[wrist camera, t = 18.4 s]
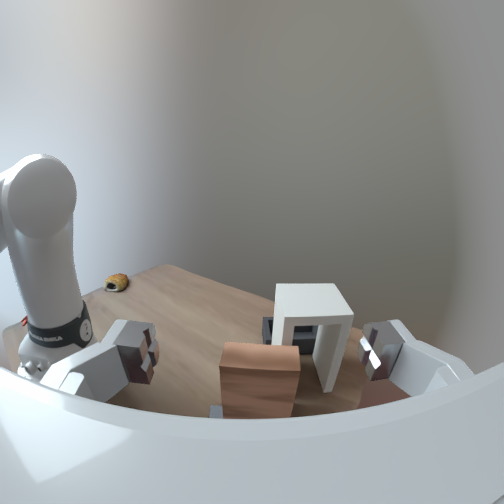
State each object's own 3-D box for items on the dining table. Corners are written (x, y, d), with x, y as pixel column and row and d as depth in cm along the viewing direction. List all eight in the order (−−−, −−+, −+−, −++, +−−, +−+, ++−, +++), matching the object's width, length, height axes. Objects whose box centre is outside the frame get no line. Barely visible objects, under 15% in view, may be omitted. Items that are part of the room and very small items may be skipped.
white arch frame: (274, 396, 41) (284, 317, 35) (270, 358, 50) (276, 283, 45) (331, 392, 41) (354, 314, 36) (319, 356, 51) (333, 283, 45)
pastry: (115, 278, 80) (113, 268, 79) (133, 280, 81) (131, 269, 79) (102, 292, 72) (100, 280, 70) (121, 293, 72) (119, 281, 71)
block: (227, 396, 40) (225, 341, 36) (288, 399, 40) (298, 345, 35) (223, 418, 35) (219, 365, 31) (289, 423, 35) (300, 370, 31)
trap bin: (264, 355, 51) (265, 339, 50) (262, 332, 59) (263, 317, 57) (323, 353, 52) (326, 337, 50) (314, 330, 59) (317, 316, 58)
